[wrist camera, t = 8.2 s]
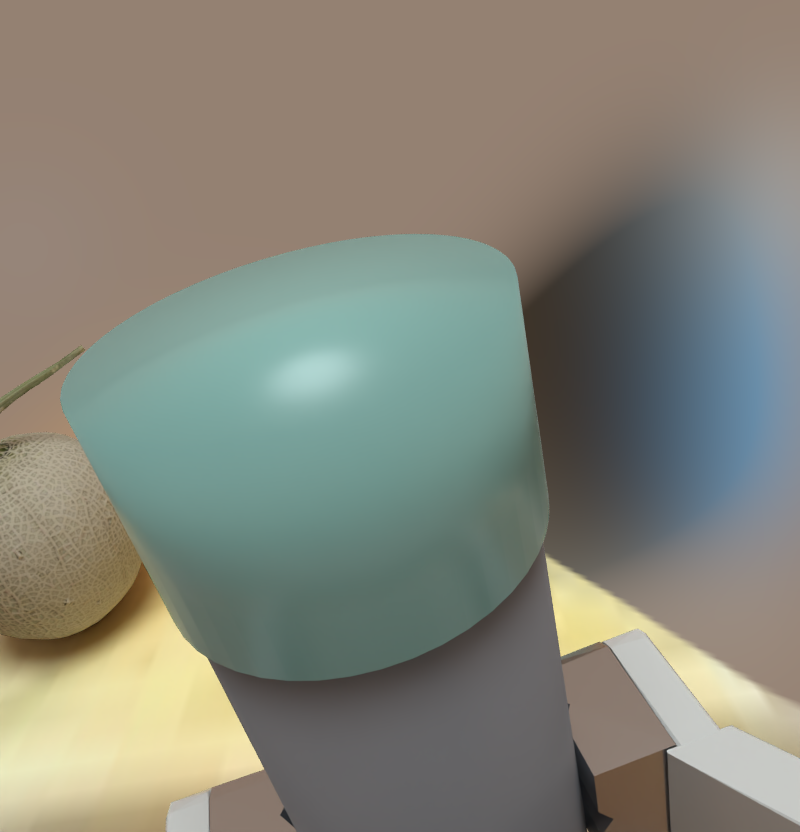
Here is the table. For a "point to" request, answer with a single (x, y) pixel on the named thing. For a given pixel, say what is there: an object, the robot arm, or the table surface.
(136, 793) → the table surface
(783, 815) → the robot arm
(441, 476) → the marker
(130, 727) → the table surface
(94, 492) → the fruit
